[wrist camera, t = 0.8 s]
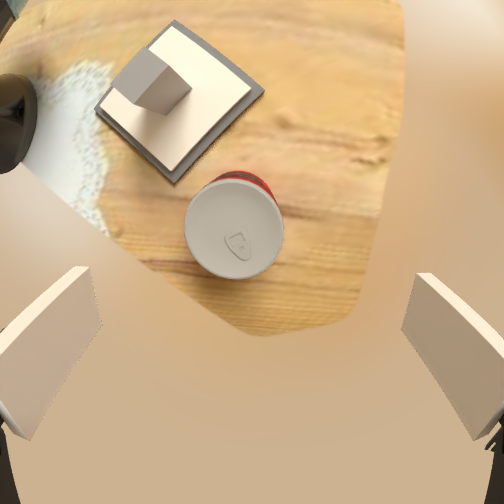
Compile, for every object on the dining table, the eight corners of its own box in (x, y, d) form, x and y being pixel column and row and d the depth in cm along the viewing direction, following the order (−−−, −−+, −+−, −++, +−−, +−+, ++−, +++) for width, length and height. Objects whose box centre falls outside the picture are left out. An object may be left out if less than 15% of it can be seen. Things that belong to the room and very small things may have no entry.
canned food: (238, 252, 34) (232, 298, 24) (190, 202, 32) (161, 227, 22) (289, 209, 33) (306, 237, 22) (240, 155, 31) (234, 157, 20)
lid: (103, 106, 28) (53, 96, 18) (173, 29, 25) (145, -10, 15) (173, 170, 30) (139, 180, 21) (251, 90, 27) (250, 63, 18)
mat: (96, 109, 28) (93, 108, 28) (176, 21, 25) (174, 19, 24) (175, 182, 32) (174, 183, 31) (264, 91, 28) (264, 90, 27)
